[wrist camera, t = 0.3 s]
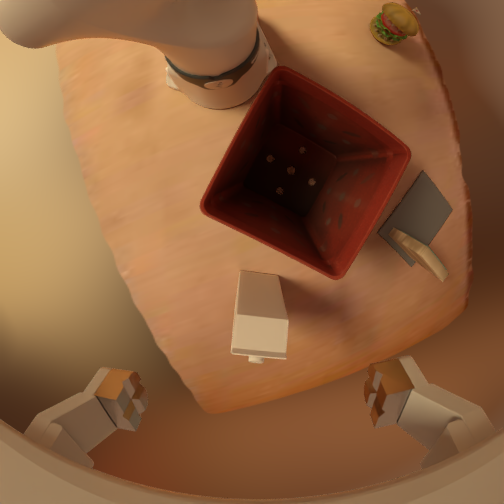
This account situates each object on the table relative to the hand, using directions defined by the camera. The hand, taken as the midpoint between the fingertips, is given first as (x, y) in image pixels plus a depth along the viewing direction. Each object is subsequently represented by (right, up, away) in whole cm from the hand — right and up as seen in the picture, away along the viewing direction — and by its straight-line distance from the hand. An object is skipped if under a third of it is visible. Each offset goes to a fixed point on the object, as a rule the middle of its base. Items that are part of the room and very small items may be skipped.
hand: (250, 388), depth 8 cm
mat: (+33, +11, +38) cm, 52 cm away
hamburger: (+25, +47, +26) cm, 59 cm away
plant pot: (+7, +18, +36) cm, 41 cm away
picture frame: (+30, +6, +39) cm, 50 cm away
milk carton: (+1, -2, +43) cm, 43 cm away
